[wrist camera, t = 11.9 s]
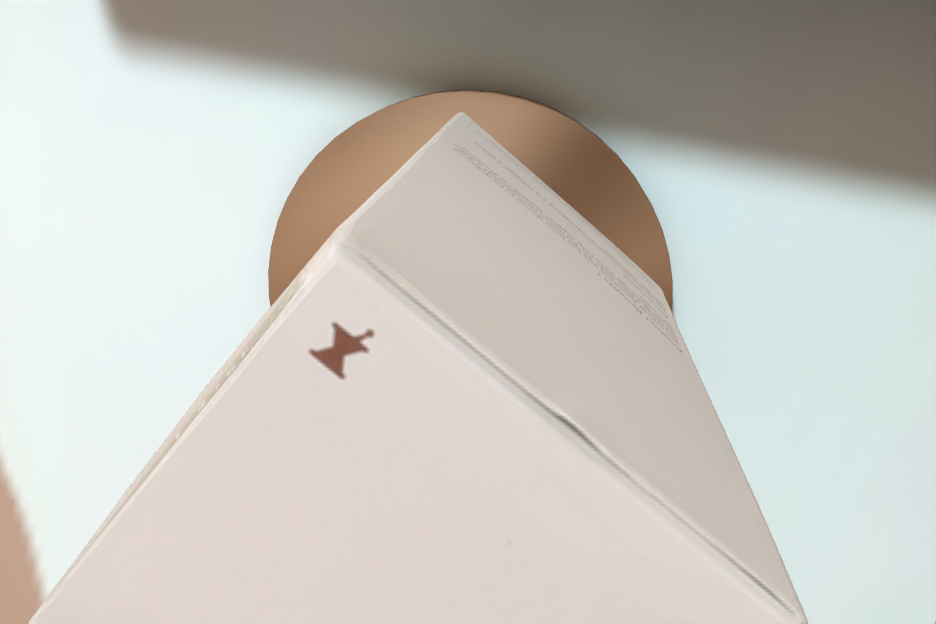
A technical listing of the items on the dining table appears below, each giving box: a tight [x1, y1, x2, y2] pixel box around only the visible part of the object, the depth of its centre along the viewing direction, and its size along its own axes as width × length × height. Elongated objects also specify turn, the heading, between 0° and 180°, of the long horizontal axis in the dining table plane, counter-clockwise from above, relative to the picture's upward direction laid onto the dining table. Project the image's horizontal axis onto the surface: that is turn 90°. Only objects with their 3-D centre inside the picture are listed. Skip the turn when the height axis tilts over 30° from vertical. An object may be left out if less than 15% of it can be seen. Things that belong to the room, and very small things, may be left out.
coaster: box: [268, 90, 672, 311], centre depth 22 cm, size 11×11×1 cm
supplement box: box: [28, 112, 808, 624], centre depth 16 cm, size 7×7×13 cm
